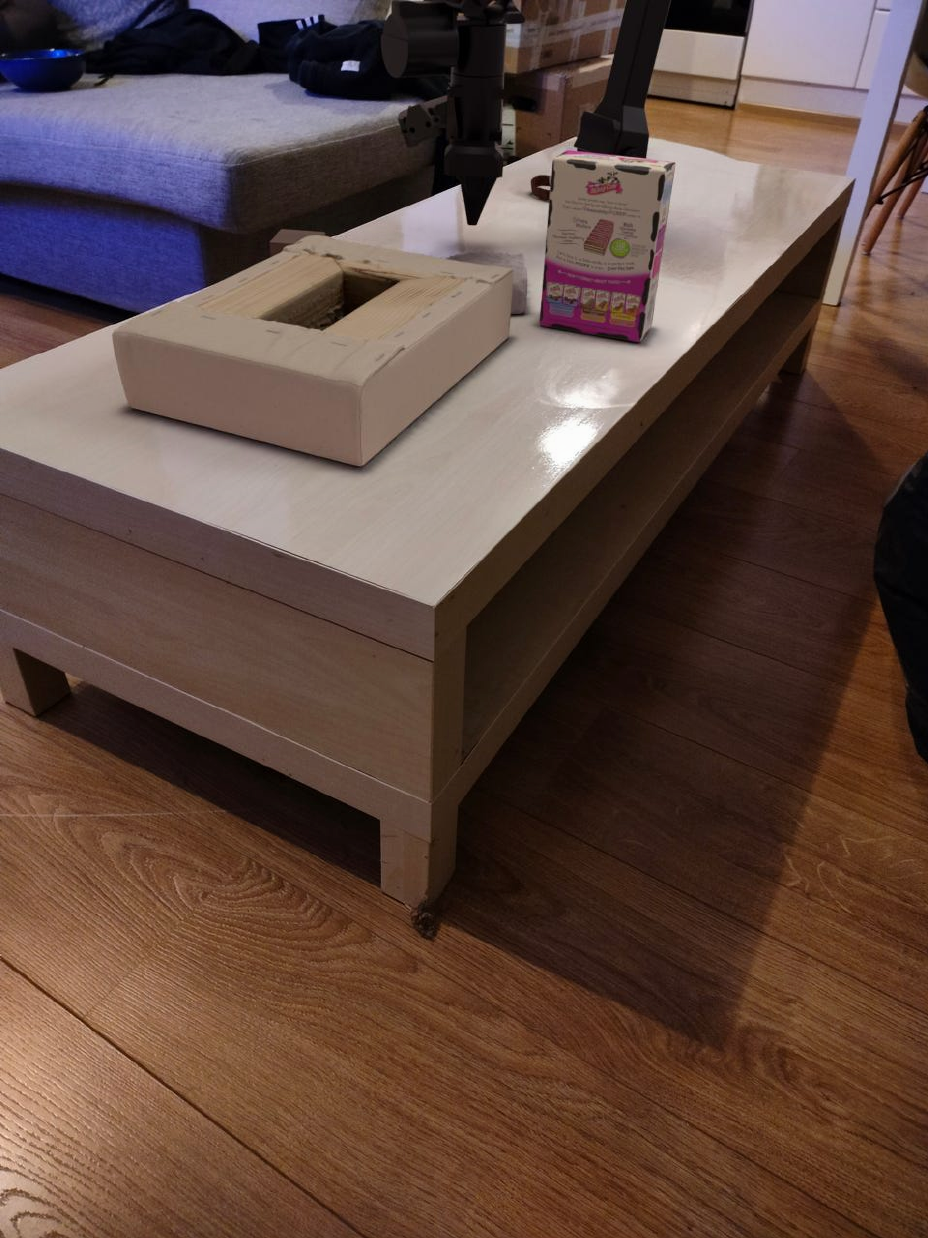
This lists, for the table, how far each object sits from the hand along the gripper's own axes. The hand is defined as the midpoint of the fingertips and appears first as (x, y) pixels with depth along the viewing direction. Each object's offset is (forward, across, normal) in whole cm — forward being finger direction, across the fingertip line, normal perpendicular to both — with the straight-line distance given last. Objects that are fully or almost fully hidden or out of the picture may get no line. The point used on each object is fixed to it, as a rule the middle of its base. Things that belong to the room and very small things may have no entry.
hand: (471, 224), depth 113 cm
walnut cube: (+5, +8, -19) cm, 21 cm away
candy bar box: (+5, +18, +14) cm, 23 cm away
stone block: (+5, +10, +1) cm, 12 cm away
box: (+5, +32, -12) cm, 35 cm away
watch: (+5, -34, +12) cm, 36 cm away
